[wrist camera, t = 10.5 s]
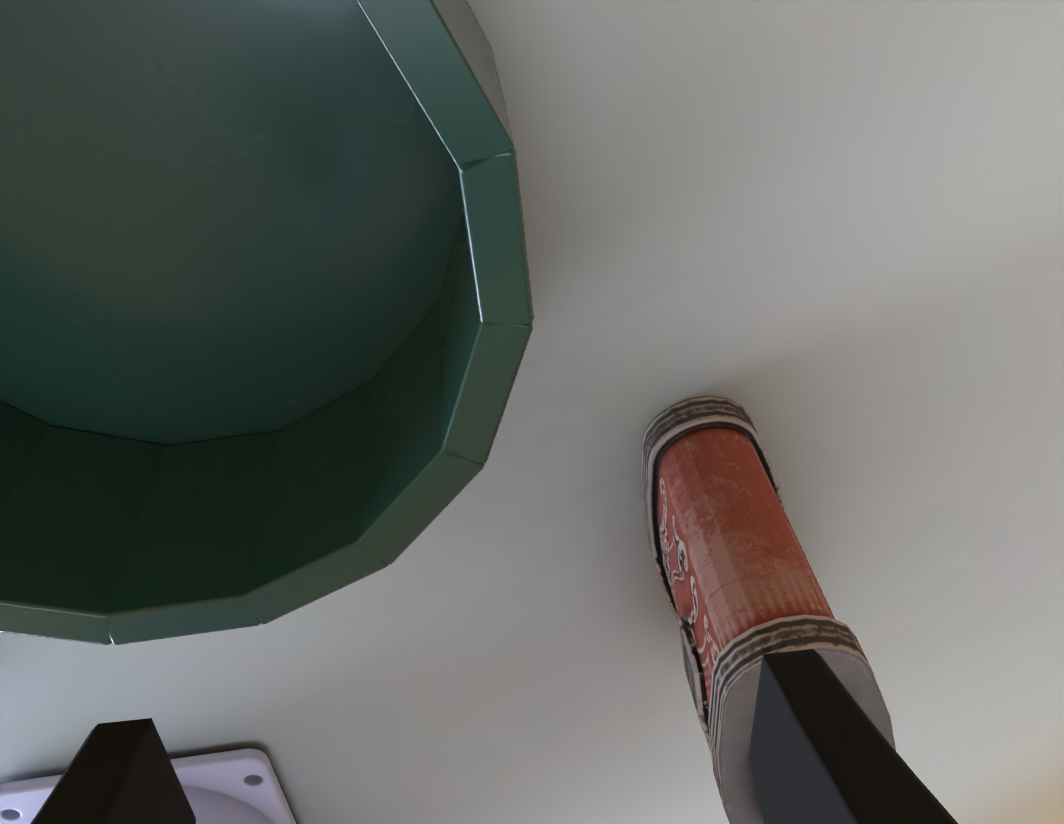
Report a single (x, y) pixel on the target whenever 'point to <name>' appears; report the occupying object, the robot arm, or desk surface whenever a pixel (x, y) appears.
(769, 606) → the lighter
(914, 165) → the desk surface
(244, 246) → the tin
